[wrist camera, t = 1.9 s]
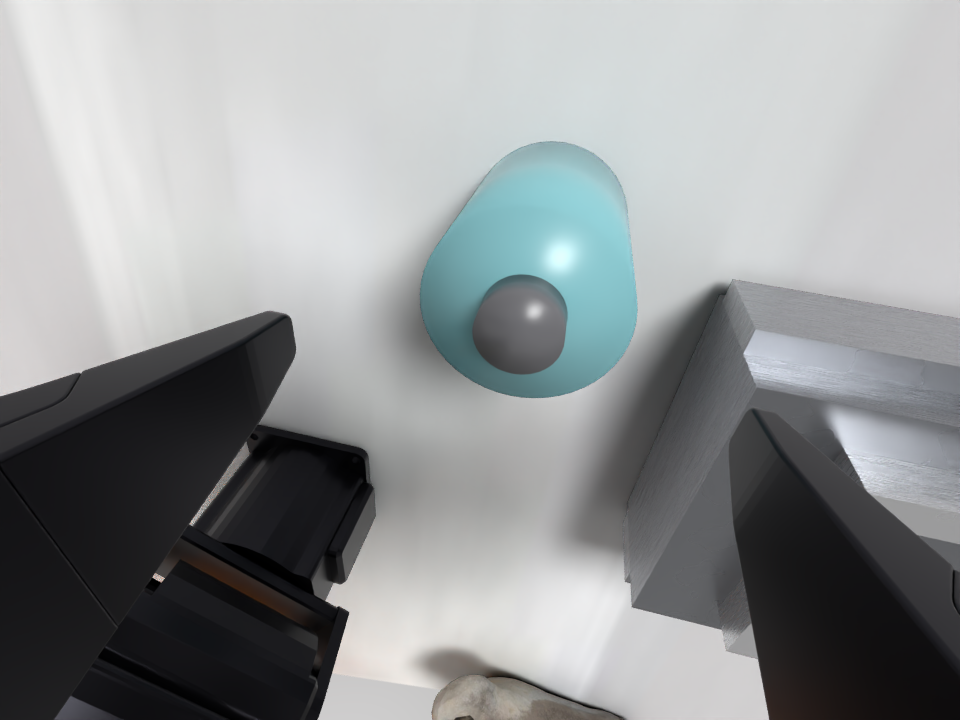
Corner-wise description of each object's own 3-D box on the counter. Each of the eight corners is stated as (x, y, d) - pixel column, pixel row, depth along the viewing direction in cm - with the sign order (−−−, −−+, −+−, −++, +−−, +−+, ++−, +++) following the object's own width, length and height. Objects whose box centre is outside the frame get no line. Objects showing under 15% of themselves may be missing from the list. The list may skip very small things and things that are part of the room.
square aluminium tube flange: (622, 513, 23) (627, 656, 18) (729, 272, 16) (789, 402, 11) (937, 585, 22) (1040, 764, 17) (1226, 357, 14) (1582, 558, 9)
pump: (468, 277, 18) (405, 400, 12) (481, 130, 15) (406, 203, 9) (605, 302, 17) (605, 443, 12) (647, 154, 14) (675, 248, 9)
